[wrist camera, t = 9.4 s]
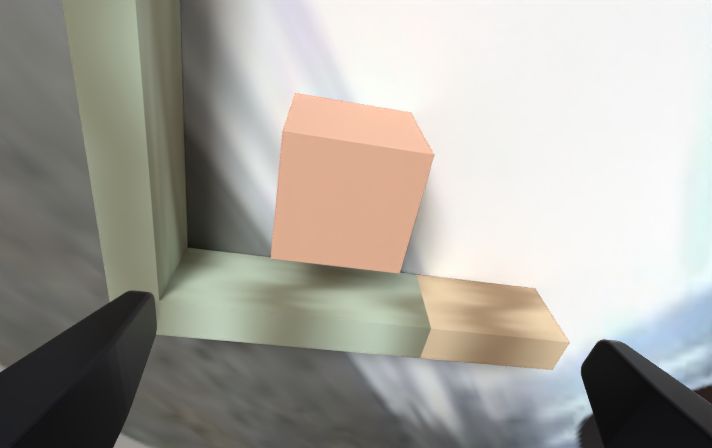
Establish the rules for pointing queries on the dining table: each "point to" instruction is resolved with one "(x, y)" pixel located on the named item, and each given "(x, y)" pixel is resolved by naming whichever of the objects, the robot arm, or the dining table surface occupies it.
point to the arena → (248, 272)
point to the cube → (348, 184)
